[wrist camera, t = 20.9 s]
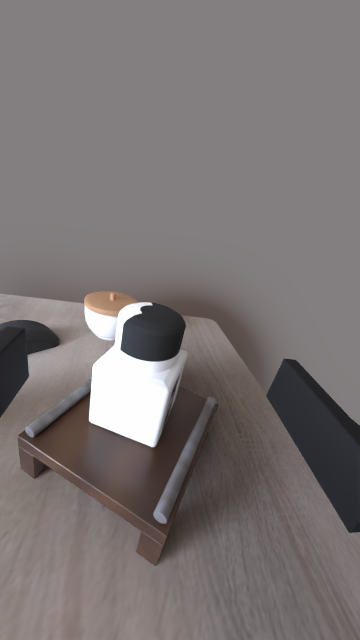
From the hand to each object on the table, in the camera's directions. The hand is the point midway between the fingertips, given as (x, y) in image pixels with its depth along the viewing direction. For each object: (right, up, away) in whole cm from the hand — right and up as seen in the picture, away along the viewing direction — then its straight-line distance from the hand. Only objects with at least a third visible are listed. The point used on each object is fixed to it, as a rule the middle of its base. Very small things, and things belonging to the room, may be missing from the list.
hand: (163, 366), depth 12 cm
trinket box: (-15, -1, +39) cm, 42 cm away
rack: (-5, -13, +17) cm, 22 cm away
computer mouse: (-27, -2, +29) cm, 40 cm away
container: (-4, -8, +16) cm, 18 cm away
